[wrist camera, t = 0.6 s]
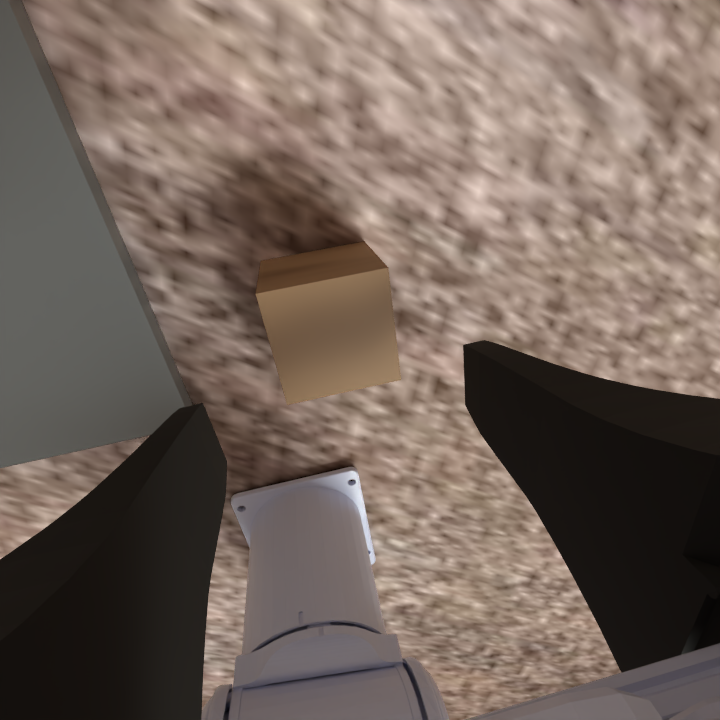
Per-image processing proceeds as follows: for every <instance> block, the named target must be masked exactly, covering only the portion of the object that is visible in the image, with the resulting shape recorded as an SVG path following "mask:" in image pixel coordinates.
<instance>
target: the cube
mask: <svg viewBox="0 0 720 720" xmlns="http://www.w3.org/2000/svg"><path fill="white" fill-rule="evenodd" d="M256 297H257V301H258V304H259V308H260V311H261V315H262V318H263V322H264V325H265V329H266V332H267V336H268V339H269V343H270V346H271V350H272V353H273V357H274V360H275V364H276V367H277V371H278V375H279V378H280V382H281V385H282V389H283V392H284V396H285V399H286V403H287V405H290V404H294V403H299V402H303V401H308V400H312V399H317V398H321V397H326V396H330V395H335V394H339V393H344V392H348V391H353V390H357V389H362V388H366V387H371V386H375V385H380V384H384V383H389V382H393V381H398V380H401V375H400V366H399V358H398V349H397V340H396V332H395V323H394V314H393V305H392V297H391V288H390V279H389V271H388V267H387V266H386V265H385V264H384V263H383V261H382V260H381V259H380V258H379V257H378V256H377V255H376V254H375V253H374V251H373V250H372V249H371V248H370V247H369V246H368V245H367V244H366V243H365V242H364V241H363V242H358V243H353V244H347V245H342V246H337V247H331V248H326V249H321V250H316V251H310V252H305V253H300V254H295V255H289V256H284V257H279V258H274V259H268V260H263V261H261V263H260V269H259V275H258V281H257V288H256Z"/></svg>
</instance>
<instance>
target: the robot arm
mask: <svg viewBox="0 0 720 720" xmlns="http://www.w3.org/2000/svg"><path fill="white" fill-rule="evenodd" d="M463 350H464V379H465V405H466V407H467V409H468V411H469V413H470V415H471V417H472V419H473V421H474V423H475V425H476V426H477V428H478V430H479V432H480V434H481V435H482V436H483V438H484V439H485V441H486V442H487V443H488V445H489V446H490V448H491V449H492V450H493V452H494V453H495V455H496V456H497V457H498V459H499V460H500V461H501V463H502V464H503V465H504V467H505V468H506V469H507V471H508V472H509V474H510V475H511V476H512V478H513V479H514V480H515V482H516V483H517V484H518V486H519V487H520V488H521V490H522V491H523V493H524V494H525V495H526V497H527V498H528V500H529V501H530V503H531V504H532V506H533V507H534V509H535V510H536V512H537V514H538V516H539V517H540V519H541V521H542V522H543V524H544V526H545V528H546V529H547V531H548V533H549V534H550V536H551V538H552V540H553V541H554V543H555V545H556V547H557V548H558V550H559V552H560V554H561V556H562V557H563V559H564V561H565V563H566V565H567V567H568V568H569V570H570V572H571V574H572V576H573V577H574V579H575V581H576V583H577V585H578V587H579V589H580V591H581V593H582V595H583V596H584V598H585V600H586V602H587V604H588V606H589V608H590V610H591V612H592V614H593V616H594V618H595V620H596V621H597V623H598V625H599V627H600V629H601V631H602V634H603V636H604V638H605V640H606V642H607V644H608V646H609V648H610V650H611V652H612V654H613V656H614V658H615V660H616V662H617V664H618V666H619V668H620V670H621V672H622V673H619V674H616V675H612V676H609V677H606V678H602V679H599V680H596V681H592V682H589V683H586V684H582V685H579V686H576V687H572V688H569V689H566V690H562V691H559V692H556V693H552V694H549V695H546V696H542V697H539V698H536V699H532V700H529V701H526V702H522V703H519V704H516V705H512V706H509V707H506V708H502V709H499V710H496V711H492V712H489V713H486V714H482V715H479V716H476V717H472V718H469V719H466V720H720V399H716V398H708V397H700V396H692V395H685V394H678V393H672V392H666V391H660V390H653V389H648V388H643V387H638V386H633V385H629V384H624V383H620V382H615V381H611V380H607V379H603V378H599V377H595V376H591V375H588V374H584V373H581V372H578V371H574V370H571V369H568V368H565V367H562V366H559V365H555V364H552V363H550V362H547V361H544V360H541V359H538V358H535V357H533V356H530V355H527V354H524V353H522V352H519V351H516V350H513V349H511V348H508V347H505V346H502V345H499V344H496V343H493V342H489V341H485V340H483V341H479V342H474V343H470V344H465V345H463ZM226 476H227V461H226V458H225V456H224V453H223V451H222V448H221V446H220V444H219V441H218V439H217V436H216V434H215V431H214V429H213V427H212V424H211V422H210V419H209V417H208V415H207V412H206V410H205V407H204V405H203V403H200V404H196V405H191V406H187V407H182V408H179V409H178V410H177V411H175V412H174V413H173V414H172V415H171V416H170V417H169V418H168V419H167V420H166V421H165V422H164V423H163V424H162V425H161V426H160V427H159V428H158V429H157V430H156V431H155V432H154V433H153V434H152V435H151V436H150V437H149V438H148V439H147V440H146V441H145V442H144V443H143V444H141V445H140V446H139V447H138V448H137V449H136V450H135V451H134V452H133V453H132V454H131V455H130V456H129V457H128V458H127V459H126V460H125V461H124V462H123V463H122V464H121V465H120V466H119V467H118V468H116V469H115V470H114V471H113V472H112V473H111V474H110V475H109V476H108V477H107V478H106V479H105V480H103V481H102V482H101V483H100V484H99V485H98V486H97V487H96V488H95V489H93V490H92V491H91V492H90V493H89V494H88V495H87V496H85V497H84V498H83V499H82V500H80V501H79V502H78V503H77V504H76V505H74V506H73V507H72V508H71V509H69V510H68V511H67V512H66V513H64V514H63V515H62V516H60V517H59V518H58V519H57V520H55V521H54V522H53V523H51V524H50V525H49V526H47V527H46V528H45V529H43V530H42V531H41V532H39V533H38V534H36V535H35V536H33V537H32V538H31V539H29V540H28V541H26V542H25V543H23V544H22V545H21V546H19V547H18V548H16V549H15V550H13V551H12V552H11V553H9V554H8V555H6V556H5V557H3V558H2V559H1V560H0V720H449V717H448V714H447V710H446V707H445V704H444V701H443V699H442V696H441V693H440V691H439V689H438V687H437V684H436V683H435V681H434V679H433V677H432V676H431V675H430V673H429V672H428V671H427V670H426V669H425V668H424V667H423V666H422V664H421V663H420V662H419V661H418V660H417V659H416V658H414V657H407V658H402V656H401V651H400V647H399V643H398V639H397V635H396V634H388V635H387V634H386V630H385V625H384V621H383V616H382V611H381V607H380V602H379V598H378V593H377V589H376V584H375V579H374V575H373V570H372V566H371V565H372V564H373V563H374V562H375V555H374V550H373V545H372V540H371V535H370V530H369V525H368V520H367V515H366V510H365V505H364V500H363V495H362V490H361V485H360V480H359V475H358V471H357V469H356V468H355V467H347V468H342V469H338V470H334V471H330V472H325V473H321V474H317V475H313V476H309V477H304V478H300V479H296V480H292V481H287V482H283V483H279V484H275V485H270V486H266V487H262V488H258V489H253V490H249V491H245V492H241V493H237V494H234V495H233V496H232V498H231V506H232V508H233V510H234V513H235V515H236V517H237V520H238V522H239V524H240V527H241V529H242V531H243V534H244V536H245V538H246V541H247V543H248V545H249V548H250V552H249V566H248V579H247V592H246V606H245V619H244V633H243V646H242V655H238V656H237V657H236V659H235V671H234V682H233V688H232V684H228V685H220V686H218V687H217V689H216V690H215V692H214V694H213V696H212V697H211V698H210V699H209V701H208V702H207V703H206V704H205V706H204V707H203V710H202V684H203V665H204V647H205V631H206V618H207V606H208V593H209V586H210V579H211V573H212V567H213V562H214V557H215V551H216V546H217V540H218V535H219V530H220V524H221V519H222V513H223V508H224V502H225V496H226ZM351 479H354V480H353V481H349V480H351ZM239 506H244V507H239Z"/></svg>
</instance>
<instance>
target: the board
mask: <svg viewBox="0 0 720 720" xmlns="http://www.w3.org/2000/svg"><path fill="white" fill-rule="evenodd" d="M191 405H192V402H191V400H190V398H189V395H188V393H187V391H186V388H185V386H184V383H183V381H182V379H181V376H180V374H179V372H178V369H177V367H176V365H175V362H174V360H173V357H172V355H171V353H170V350H169V348H168V346H167V343H166V341H165V339H164V336H163V334H162V331H161V329H160V327H159V324H158V322H157V320H156V317H155V315H154V313H153V310H152V308H151V305H150V303H149V301H148V298H147V296H146V294H145V291H144V289H143V287H142V284H141V282H140V279H139V277H138V275H137V272H136V270H135V268H134V265H133V263H132V261H131V258H130V256H129V253H128V251H127V249H126V246H125V244H124V242H123V239H122V237H121V235H120V232H119V230H118V228H117V225H116V223H115V220H114V218H113V216H112V213H111V211H110V209H109V206H108V204H107V202H106V199H105V197H104V194H103V192H102V190H101V187H100V185H99V183H98V180H97V178H96V176H95V173H94V171H93V168H92V166H91V164H90V161H89V159H88V157H87V154H86V152H85V150H84V147H83V145H82V142H81V140H80V138H79V135H78V133H77V131H76V128H75V126H74V124H73V121H72V119H71V116H70V114H69V112H68V109H67V107H66V105H65V102H64V100H63V98H62V95H61V93H60V90H59V88H58V86H57V83H56V81H55V79H54V76H53V74H52V72H51V69H50V67H49V64H48V62H47V60H46V57H45V55H44V53H43V50H42V48H41V46H40V43H39V41H38V38H37V36H36V34H35V31H34V29H33V27H32V24H31V22H30V20H29V17H28V15H27V13H26V10H25V8H24V5H23V3H22V1H21V0H0V468H3V467H8V466H12V465H17V464H22V463H26V462H31V461H35V460H40V459H44V458H49V457H53V456H58V455H62V454H67V453H71V452H76V451H80V450H85V449H90V448H94V447H99V446H103V445H108V444H112V443H117V442H121V441H126V440H130V439H135V438H139V437H144V436H149V435H152V434H153V433H154V432H155V431H156V430H157V429H158V428H159V427H160V426H161V425H162V424H163V423H164V422H165V421H166V420H167V419H168V418H169V417H170V416H171V415H172V414H173V413H174V412H175V411H177V410H178V409H179V408H182V407H187V406H191Z"/></svg>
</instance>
